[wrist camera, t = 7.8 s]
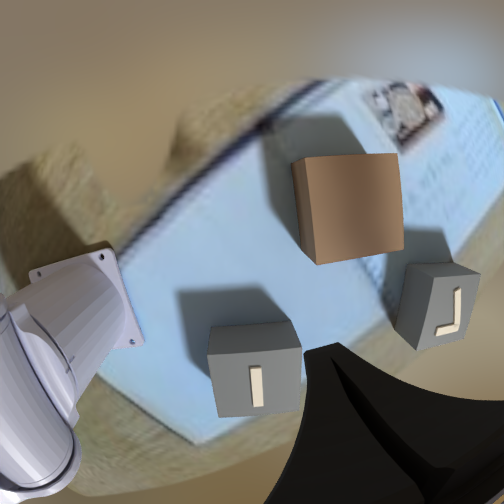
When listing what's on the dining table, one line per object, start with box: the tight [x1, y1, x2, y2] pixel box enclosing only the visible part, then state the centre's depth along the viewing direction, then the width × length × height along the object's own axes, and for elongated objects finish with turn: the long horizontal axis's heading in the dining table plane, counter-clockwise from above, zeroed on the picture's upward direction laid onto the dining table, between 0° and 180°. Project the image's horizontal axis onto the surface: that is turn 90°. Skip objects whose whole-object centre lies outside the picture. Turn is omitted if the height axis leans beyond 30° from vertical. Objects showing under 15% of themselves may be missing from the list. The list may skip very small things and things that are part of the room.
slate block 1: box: [207, 321, 302, 418], centre depth 19 cm, size 6×6×4 cm
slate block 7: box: [394, 262, 481, 351], centre depth 19 cm, size 6×6×4 cm
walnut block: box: [291, 153, 404, 265], centre depth 17 cm, size 6×6×4 cm
